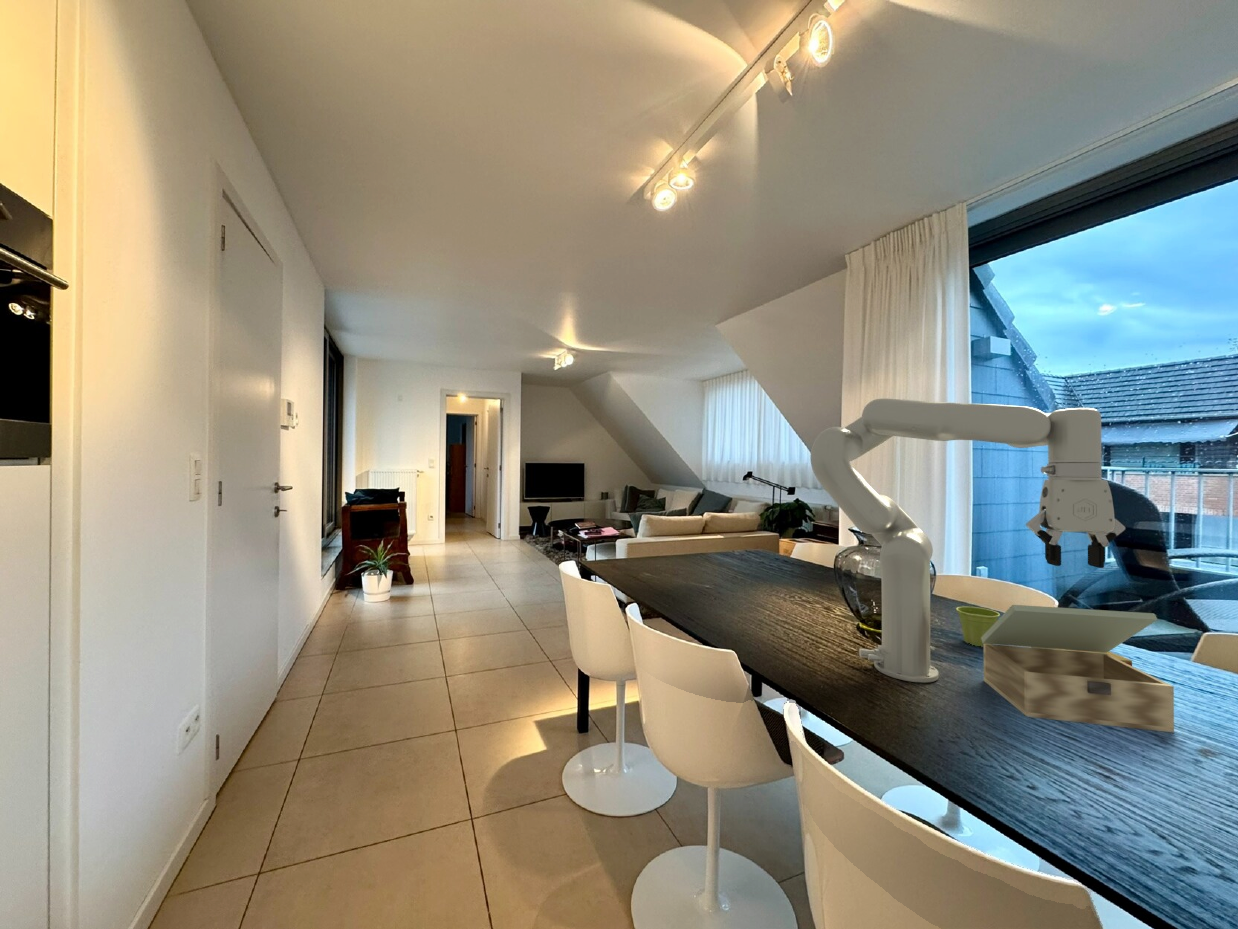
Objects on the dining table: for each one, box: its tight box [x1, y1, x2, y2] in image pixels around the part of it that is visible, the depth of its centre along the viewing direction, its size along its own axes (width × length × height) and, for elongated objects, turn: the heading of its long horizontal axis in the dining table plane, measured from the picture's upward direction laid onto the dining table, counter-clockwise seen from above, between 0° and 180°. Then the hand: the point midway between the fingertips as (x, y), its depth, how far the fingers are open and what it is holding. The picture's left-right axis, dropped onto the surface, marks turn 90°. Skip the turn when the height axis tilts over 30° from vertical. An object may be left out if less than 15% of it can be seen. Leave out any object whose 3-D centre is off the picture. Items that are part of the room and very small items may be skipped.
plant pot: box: [955, 606, 1001, 648], centre depth 128 cm, size 9×9×9 cm
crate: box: [983, 644, 1175, 733], centre depth 95 cm, size 22×16×8 cm
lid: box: [981, 604, 1158, 653], centre depth 97 cm, size 22×16×1 cm
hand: (1074, 564), depth 93 cm, fingers open, 6 cm apart
